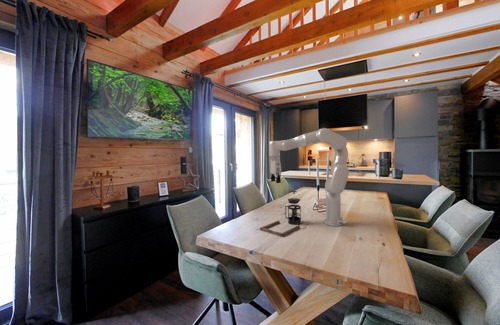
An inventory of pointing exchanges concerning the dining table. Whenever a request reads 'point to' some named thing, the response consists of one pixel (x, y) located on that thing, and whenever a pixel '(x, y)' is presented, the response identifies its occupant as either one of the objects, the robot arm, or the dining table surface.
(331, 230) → the dining table surface
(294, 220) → the french press
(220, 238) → the dining table surface
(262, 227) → the walnut bay
